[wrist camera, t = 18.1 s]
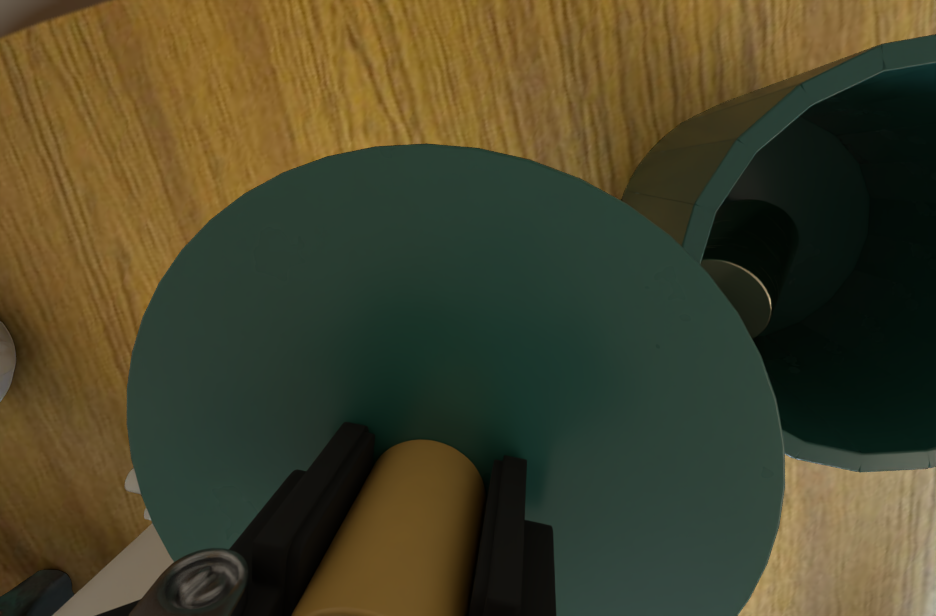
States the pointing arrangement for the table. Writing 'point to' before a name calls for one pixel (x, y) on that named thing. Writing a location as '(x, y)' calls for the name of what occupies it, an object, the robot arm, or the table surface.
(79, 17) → the table surface
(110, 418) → the table surface
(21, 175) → the table surface
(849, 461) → the canister
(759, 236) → the tea tin
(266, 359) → the canister lid
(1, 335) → the teacup
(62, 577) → the ceramic cat
